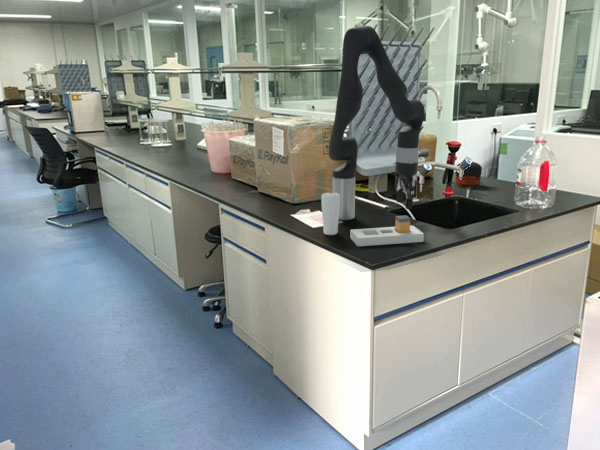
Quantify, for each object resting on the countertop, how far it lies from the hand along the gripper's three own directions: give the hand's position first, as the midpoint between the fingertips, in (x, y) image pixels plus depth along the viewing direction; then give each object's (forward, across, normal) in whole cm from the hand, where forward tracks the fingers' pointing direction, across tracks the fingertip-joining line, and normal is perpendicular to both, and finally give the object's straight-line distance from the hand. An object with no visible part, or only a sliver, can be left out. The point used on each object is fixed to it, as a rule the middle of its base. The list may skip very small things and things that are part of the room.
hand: (404, 205), depth 169 cm
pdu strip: (+12, +1, -6) cm, 14 cm away
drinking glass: (+13, -11, -24) cm, 29 cm away
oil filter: (+14, -74, +66) cm, 100 cm away
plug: (+12, +1, 0) cm, 12 cm away
